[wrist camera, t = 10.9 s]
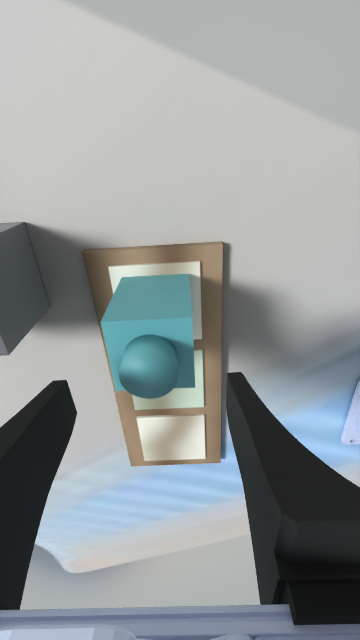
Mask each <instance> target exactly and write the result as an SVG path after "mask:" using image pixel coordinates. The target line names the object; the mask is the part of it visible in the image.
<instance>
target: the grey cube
mask: <svg viewBox="0 0 360 640" xmlns="http://www.w3.org/2000/svg"><path fill="white" fill-rule="evenodd" d="M49 307H50V304H49V301H48V298H47V294H46V291H45V288H44V285H43V281H42V278H41V275H40V272H39V268H38V265H37V262H36V259H35V256H34V252H33V249H32V246H31V243H30V239H29V236H28V233H27V230H26V226H25V223H24V222H16V223H0V356H1V355H9V354H10V353H11V352H12V351H13V350H14V349H15V347H16V346H17V345H18V344H19V343H20V341H21V340H22V339H23V338H24V337H25V336H26V334H27V333H28V332H29V331H30V330H31V329H32V327H33V326H34V325H35V324H36V323H37V321H38V320H39V319H40V318H41V317H42V316H43V314H44V313H45V312H46V311H47V310H48V308H49Z"/></svg>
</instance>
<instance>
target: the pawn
mask: <svg viewBox="0 0 360 640" xmlns="http://www.w3.org/2000/svg"><path fill="white" fill-rule="evenodd" d="M101 326H102V331H103V335H104V340H105V345H106V349H107V354H108V358H109V363H110V368H111V372H112V377H113V382H114V386H115V391H128V392H129V393H131V394H132V395H134V396H137V397H140V398H146V399H154V398H159V397H162V396H165V395H166V394H168V393H169V392H171V391H172V390H173V389H175V388H195V368H194V344H193V319H192V305H191V291H190V278H189V274H172V275H153V276H134V277H122V278H121V280H120V282H119V284H118V286H117V288H116V290H115V292H114V295H113V297H112V299H111V301H110V303H109V305H108V307H107V309H106V311H105V314H104V316H103V318H102V320H101Z"/></svg>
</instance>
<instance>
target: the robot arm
mask: <svg viewBox="0 0 360 640" xmlns="http://www.w3.org/2000/svg"><path fill="white" fill-rule="evenodd" d="M226 408H227V416H228V423H229V429H230V433H231V437H232V441H233V446H234V449H235V453H236V457H237V461H238V465H239V469H240V473H241V477H242V482H243V487H244V493H245V499H246V505H247V512H248V518H249V525H250V532H251V538H252V545H253V552H254V560H255V567H256V574H257V581H258V589H259V596H260V604H261V605H237V606H236V605H233V606H184V607H137V608H90V609H44V610H42V609H41V610H20V605H21V600H22V595H23V590H24V586H25V581H26V577H27V572H28V568H29V563H30V560H31V556H32V551H33V547H34V543H35V539H36V536H37V532H38V528H39V525H40V521H41V517H42V514H43V510H44V507H45V504H46V500H47V497H48V494H49V491H50V488H51V485H52V482H53V480H54V477H55V475H56V472H57V470H58V467H59V465H60V463H61V460H62V458H63V455H64V453H65V450H66V448H67V445H68V442H69V440H70V437H71V435H72V431H73V427H74V424H75V419H76V415H77V411H76V408H75V405H74V402H73V399H72V396H71V392H70V389H69V386H68V383H67V380H58V381H52V382H51V383H50V384H49V385H48V386H47V387H46V388H44V389H43V390H42V391H41V392H40V393H39V394H38V395H37V396H36V397H35V398H34V399H32V400H31V401H30V402H29V403H28V404H27V405H26V406H25V407H24V408H23V409H21V410H20V411H19V412H18V413H17V414H16V415H15V416H14V417H12V418H11V419H10V420H9V421H8V422H6V423H5V424H4V425H3V426H2V427H0V640H360V487H358V486H357V485H355V484H353V483H352V482H350V481H349V480H347V479H346V478H344V477H343V476H341V475H340V474H339V473H337V472H336V471H335V470H333V469H332V468H330V467H329V466H328V465H326V464H325V463H324V462H323V461H322V460H320V459H319V458H318V457H317V456H315V455H314V454H313V453H312V452H310V451H309V450H308V449H307V448H306V447H305V446H303V445H302V444H301V443H300V442H299V441H298V440H297V439H296V438H295V437H294V436H293V435H292V434H291V433H290V432H289V431H288V430H287V429H286V428H285V427H284V426H283V425H282V424H281V423H280V422H279V421H278V420H277V419H276V418H275V416H274V415H273V414H272V413H271V412H270V411H269V409H268V408H267V407H266V406H265V404H264V403H263V402H262V401H261V399H260V398H259V397H258V395H257V394H256V393H255V391H254V390H253V389H252V387H251V386H250V384H249V383H248V381H247V380H246V378H245V376H244V375H243V374H242V373H241V372H235V373H227V396H226ZM341 442H342V443H343V444H346V445H347V444H360V380H359V381H358V383H357V386H356V389H355V393H354V396H353V399H352V403H351V406H350V409H349V412H348V416H347V419H346V422H345V425H344V429H343V432H342V435H341Z"/></svg>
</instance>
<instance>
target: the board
mask: <svg viewBox="0 0 360 640" xmlns="http://www.w3.org/2000/svg"><path fill="white" fill-rule="evenodd" d="M83 255H84V259H85V264H86V268H87V272H88V277H89V281H90V286H91V290H92V295H93V299H94V304H95V308H96V312H97V317H98V321H99V326H100V330H101V335H102V339H103V343H104V348H105V352H106V357H107V361H108V366H109V370H110V374H111V379H112V383H113V388H114V392H115V397H116V401H117V405H118V410H119V414H120V419H121V423H122V428H123V432H124V437H125V441H126V445H127V450H128V454H129V459H130V463H131V466H148V465H175V464H202V463H220V459H221V365H222V270H223V244H222V242H207V243H191V244H174V245H158V246H141V247H124V248H108V249H91V250H85V251H84V252H83ZM172 274H189V278H190V291H191V305H192V319H193V344H194V368H195V388H175V389H173V390H172V391H171V392H169V393H168V394H166V395H165V396H162V397H159V398H154V399H146V398H140V397H137V396H134V395H132V394H131V393H129V392H128V391H115V386H114V382H113V377H112V372H111V368H110V363H109V358H108V354H107V349H106V345H105V340H104V335H103V331H102V326H101V320H102V318H103V316H104V314H105V311H106V309H107V307H108V305H109V303H110V301H111V299H112V297H113V295H114V292H115V290H116V288H117V286H118V284H119V282H120V280H121V278H122V277H134V276H153V275H172Z"/></svg>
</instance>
